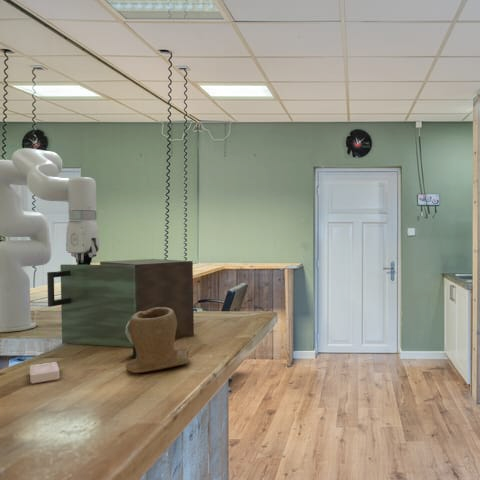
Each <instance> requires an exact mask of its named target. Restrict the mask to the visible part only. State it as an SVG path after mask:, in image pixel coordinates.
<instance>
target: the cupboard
mask: <svg viewBox="0 0 480 480" xmlns="http://www.w3.org/2000/svg"><path fill="white" fill-rule="evenodd" d="M99 265H135V283H136V313H137V312H139V311H147V310H149V309H152V308H156V307H167V308H170V309H172V310H173V311H174V313H175V315H176V319H177V328H176V334H175V340H179V339H184V338H189V337H194V336H195V319H194V318H195V316H194V314H195V313H194V266H193V265H194V263H193V260H182V259H181V260H180V259H179V260H177V259H162V258H147V259H126V260H105V261H104V260H103V261H100V262H99Z"/></svg>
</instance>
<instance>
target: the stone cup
mask: <svg viewBox="0 0 480 480" xmlns="http://www.w3.org/2000/svg"><path fill="white" fill-rule="evenodd" d="M176 328H177V319H176V315H175V313H174V311H173V310H172V309H170V308H167V307H156V308H152V309H149V310H147V311H139V312H137V313H135V314H134V315H133V316H132V317H131V318H130V336H131V339H132V342H133V344H134V347H135V349H136V356H137V357H136V359H133V358H132V359H130V360H129V361H127V362H126V364H125V366H124V367H125V370H126V371H128V372H130V373H134V374H140V373H148V372H155V371H160V370H165V369H170V368H175V367H180V366H184V365H188V364H189V353H190V349H189V348H182V349H175V340H176V339H175V334H176Z"/></svg>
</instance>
